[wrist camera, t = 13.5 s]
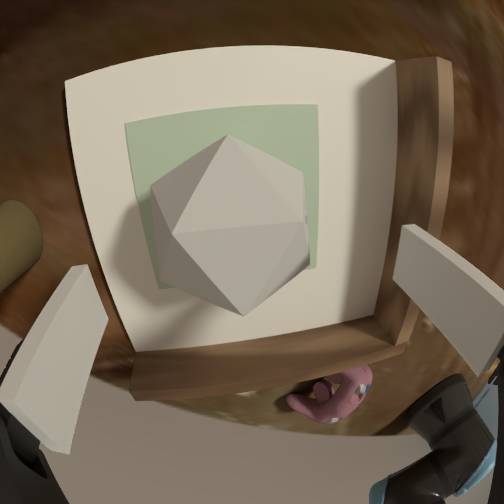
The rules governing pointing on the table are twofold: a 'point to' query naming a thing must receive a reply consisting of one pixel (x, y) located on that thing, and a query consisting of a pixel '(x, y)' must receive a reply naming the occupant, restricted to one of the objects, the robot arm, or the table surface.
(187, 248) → the die
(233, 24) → the table surface
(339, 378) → the video game controller
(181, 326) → the wooden corner tray
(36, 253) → the olive pawn figure
